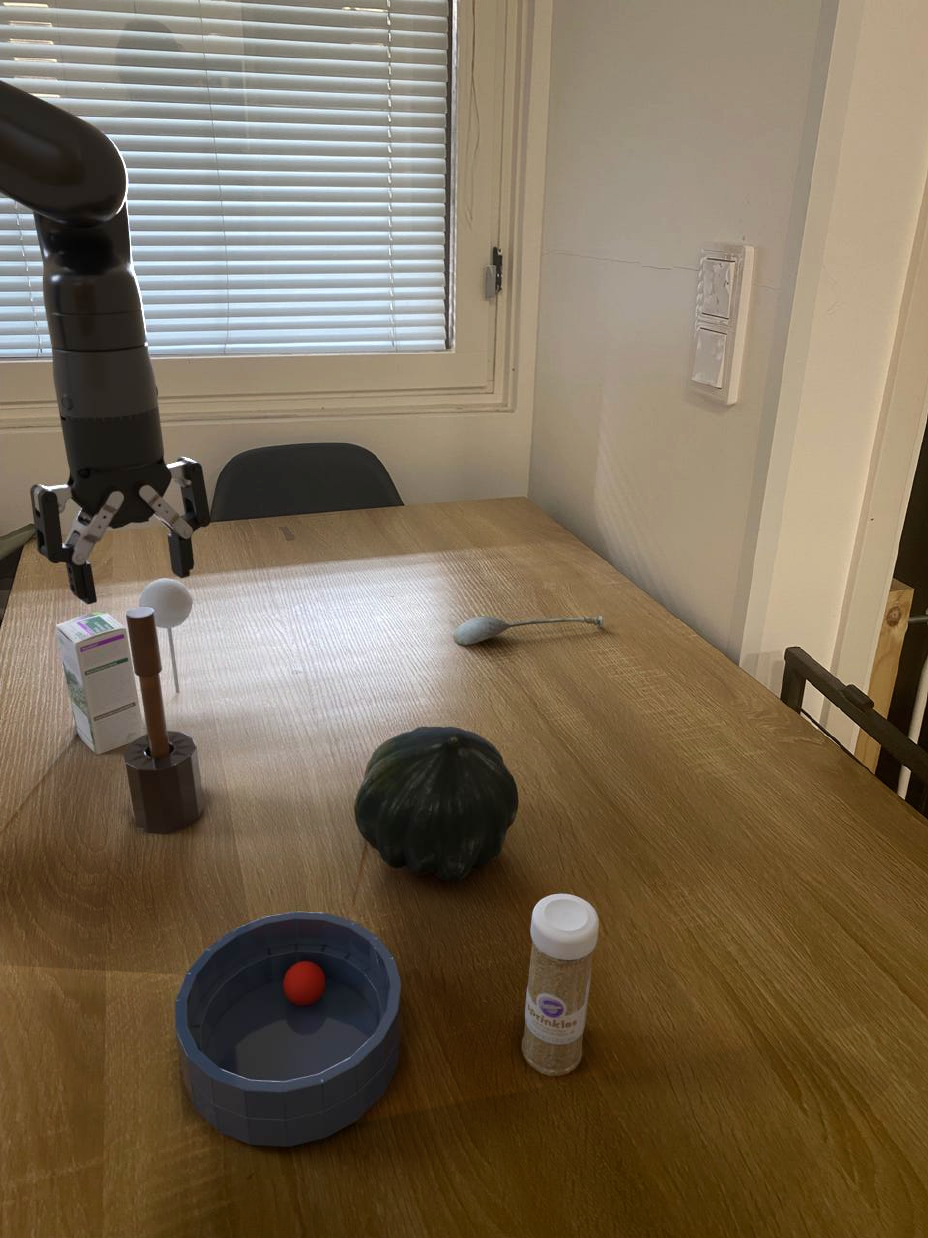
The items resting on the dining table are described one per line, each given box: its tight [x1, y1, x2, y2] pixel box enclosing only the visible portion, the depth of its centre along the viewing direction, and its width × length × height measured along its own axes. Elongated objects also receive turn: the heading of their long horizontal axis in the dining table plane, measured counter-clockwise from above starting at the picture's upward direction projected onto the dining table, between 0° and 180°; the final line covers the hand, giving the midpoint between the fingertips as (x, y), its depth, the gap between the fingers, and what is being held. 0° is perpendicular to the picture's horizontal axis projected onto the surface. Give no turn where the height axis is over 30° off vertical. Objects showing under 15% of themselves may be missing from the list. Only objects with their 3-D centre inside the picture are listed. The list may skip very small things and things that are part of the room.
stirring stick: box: [125, 606, 170, 758], centre depth 86 cm, size 2×2×22 cm
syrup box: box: [54, 610, 145, 756], centre depth 100 cm, size 6×6×14 cm
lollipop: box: [138, 577, 194, 694], centre depth 109 cm, size 6×6×15 cm
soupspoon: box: [452, 615, 604, 646], centre depth 129 cm, size 22×3×7 cm
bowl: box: [174, 910, 403, 1148], centre depth 66 cm, size 16×16×6 cm
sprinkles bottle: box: [521, 893, 600, 1077], centre depth 64 cm, size 5×5×13 cm
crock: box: [122, 730, 205, 834], centre depth 89 cm, size 7×7×8 cm
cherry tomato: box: [283, 961, 325, 1006], centre depth 70 cm, size 3×3×3 cm
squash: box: [353, 726, 520, 883], centre depth 84 cm, size 14×15×15 cm
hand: (136, 587), depth 80 cm, fingers open, 8 cm apart
